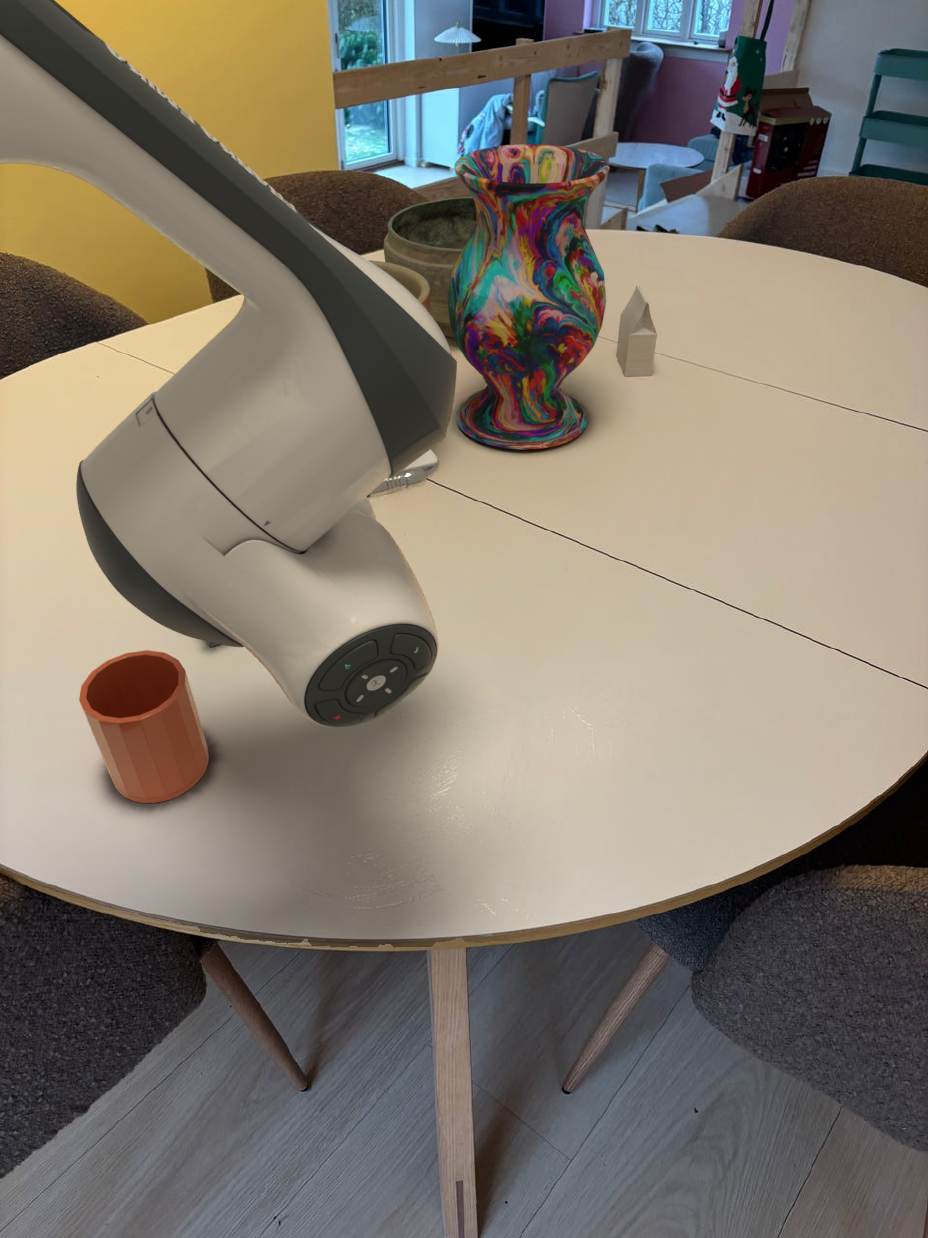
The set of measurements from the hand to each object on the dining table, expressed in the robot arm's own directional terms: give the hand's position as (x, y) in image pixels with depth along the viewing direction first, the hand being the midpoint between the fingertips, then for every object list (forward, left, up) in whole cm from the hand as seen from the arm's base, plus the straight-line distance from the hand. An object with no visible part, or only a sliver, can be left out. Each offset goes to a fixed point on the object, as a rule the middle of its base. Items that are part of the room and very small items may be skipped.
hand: (237, 412), depth 63 cm
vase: (+42, +29, -25) cm, 57 cm away
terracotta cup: (-12, -6, -25) cm, 29 cm away
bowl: (+52, +60, -25) cm, 83 cm away
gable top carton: (+64, +35, -25) cm, 77 cm away
